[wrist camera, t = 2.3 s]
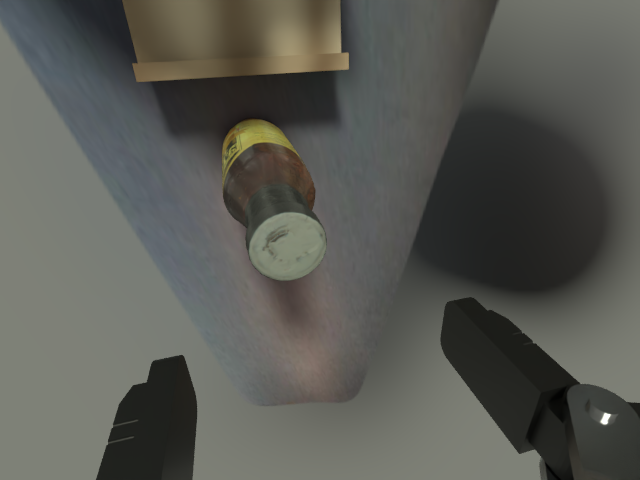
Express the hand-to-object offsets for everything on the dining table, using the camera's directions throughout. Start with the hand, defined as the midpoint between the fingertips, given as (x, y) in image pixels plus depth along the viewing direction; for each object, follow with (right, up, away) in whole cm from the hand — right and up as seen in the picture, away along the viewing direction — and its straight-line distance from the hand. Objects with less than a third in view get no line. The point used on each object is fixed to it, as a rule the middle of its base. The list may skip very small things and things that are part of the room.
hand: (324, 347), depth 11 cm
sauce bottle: (-6, +12, +24) cm, 28 cm away
